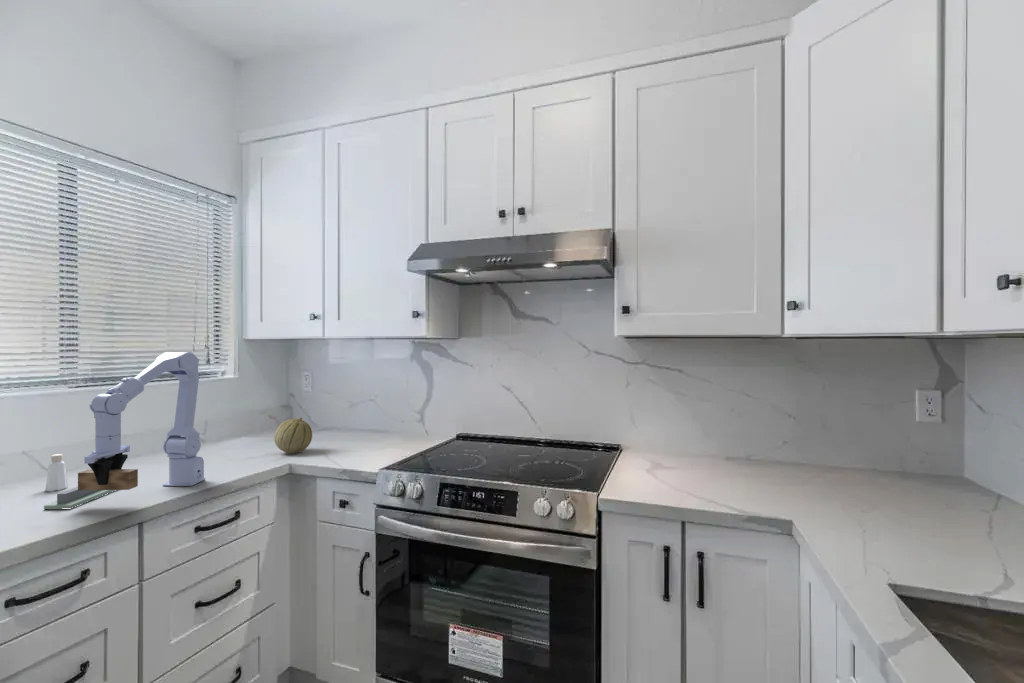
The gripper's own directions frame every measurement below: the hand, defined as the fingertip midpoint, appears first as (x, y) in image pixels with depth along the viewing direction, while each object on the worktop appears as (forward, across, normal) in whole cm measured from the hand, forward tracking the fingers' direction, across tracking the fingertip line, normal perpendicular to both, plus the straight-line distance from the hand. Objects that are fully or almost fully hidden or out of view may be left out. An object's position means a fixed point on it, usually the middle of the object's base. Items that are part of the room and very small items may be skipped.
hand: (108, 482), depth 142 cm
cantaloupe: (+7, -67, +27) cm, 73 cm away
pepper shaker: (+7, -18, -29) cm, 35 cm away
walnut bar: (+2, 0, 0) cm, 2 cm away
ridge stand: (+7, -7, -12) cm, 16 cm away
